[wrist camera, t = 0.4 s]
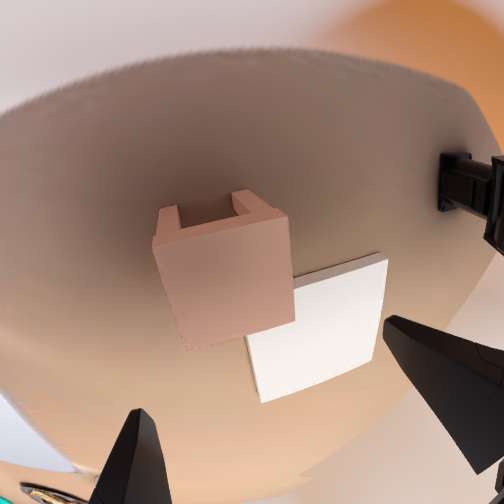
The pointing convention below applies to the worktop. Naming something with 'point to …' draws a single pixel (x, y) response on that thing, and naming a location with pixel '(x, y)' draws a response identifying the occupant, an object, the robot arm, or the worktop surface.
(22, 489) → the food plate
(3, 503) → the donuts
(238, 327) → the stool
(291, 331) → the white board
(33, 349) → the worktop surface
